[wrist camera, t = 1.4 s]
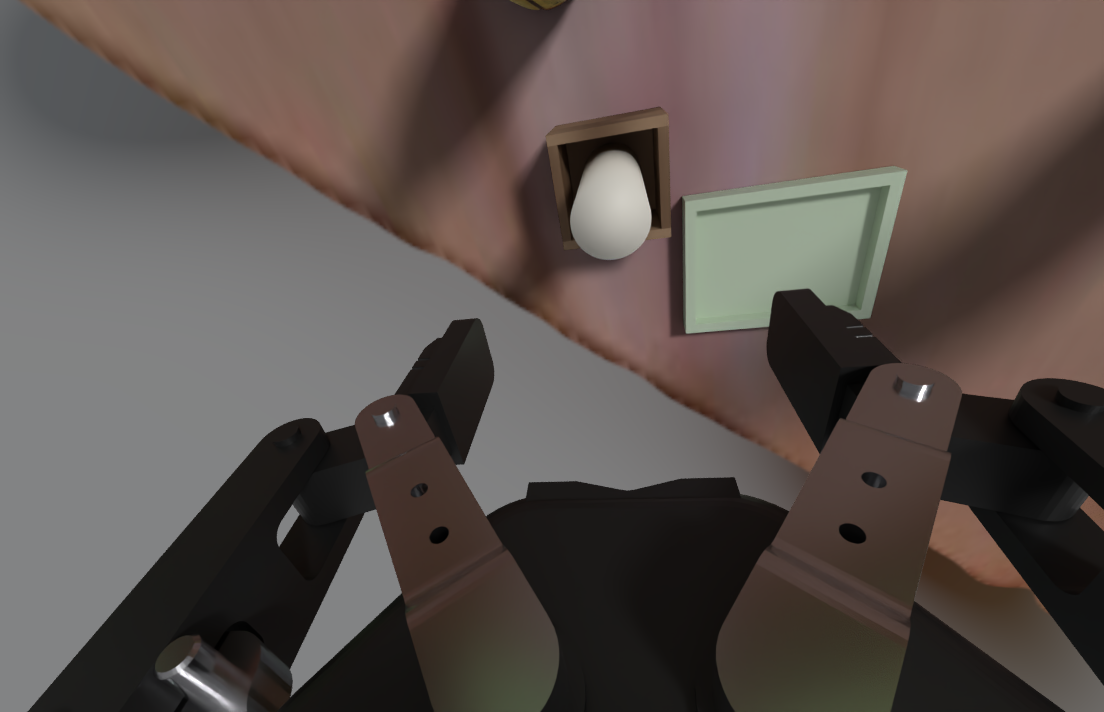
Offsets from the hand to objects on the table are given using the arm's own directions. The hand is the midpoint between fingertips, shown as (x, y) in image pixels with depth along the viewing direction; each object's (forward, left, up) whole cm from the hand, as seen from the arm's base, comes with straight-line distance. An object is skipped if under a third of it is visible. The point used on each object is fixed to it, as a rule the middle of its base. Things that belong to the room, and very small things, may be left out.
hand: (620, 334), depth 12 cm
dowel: (0, 0, -23) cm, 23 cm away
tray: (-12, +8, -24) cm, 28 cm away
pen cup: (0, 0, -24) cm, 24 cm away
